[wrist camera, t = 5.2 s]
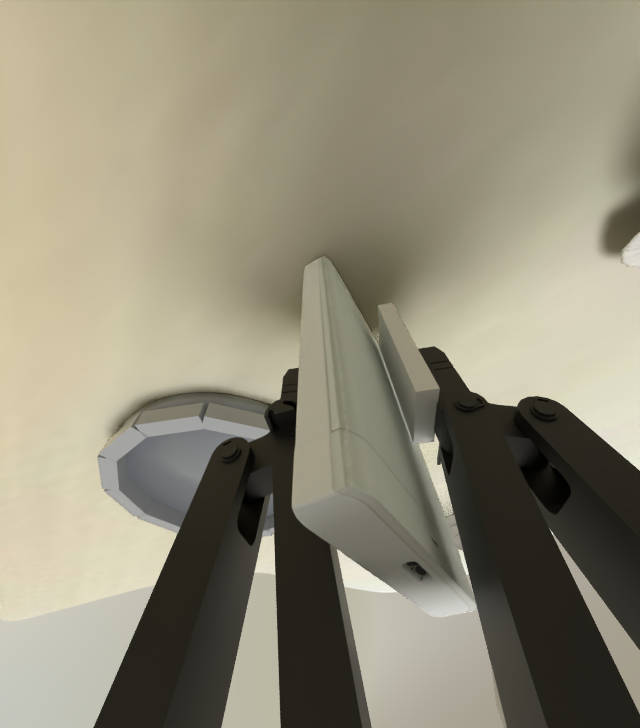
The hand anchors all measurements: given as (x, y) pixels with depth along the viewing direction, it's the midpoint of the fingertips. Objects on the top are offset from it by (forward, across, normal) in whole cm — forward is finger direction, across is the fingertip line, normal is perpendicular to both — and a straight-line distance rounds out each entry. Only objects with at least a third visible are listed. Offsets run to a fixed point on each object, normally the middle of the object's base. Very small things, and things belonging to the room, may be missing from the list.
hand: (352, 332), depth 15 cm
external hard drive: (+2, 0, 0) cm, 2 cm away
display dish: (+1, -12, -12) cm, 17 cm away
